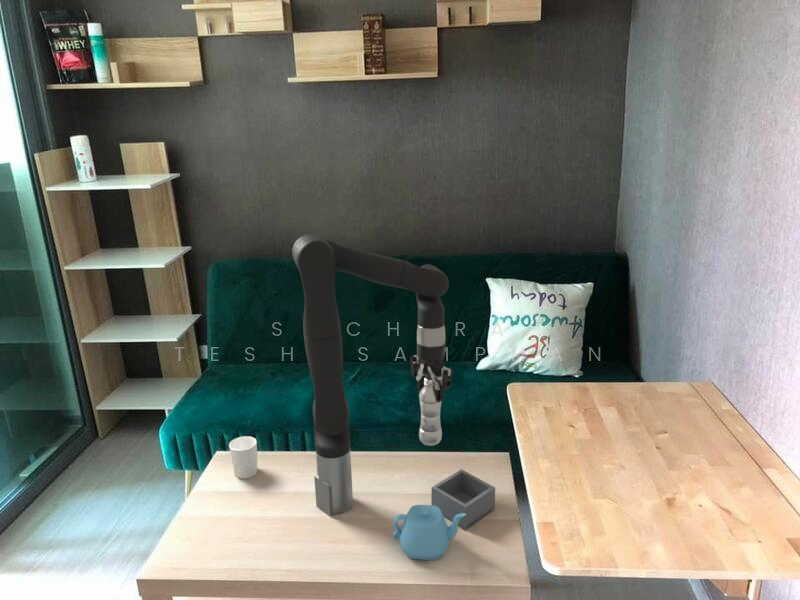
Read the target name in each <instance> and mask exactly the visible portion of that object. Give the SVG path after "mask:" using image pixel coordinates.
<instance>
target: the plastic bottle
mask: <svg viewBox="0 0 800 600" xmlns="http://www.w3.org/2000/svg"><path fill="white" fill-rule="evenodd" d="M436 378H438V376H436ZM424 385H425V386H424V387H423V388H422V389H421V391H420V394H419V393H418V394H419V395H418V399H419V405H420V425H419V431H418V437H419V438H418V439H419V441H420V442H421V443H422V444H423V445H425V446H430V447H431V446H432V447H433V446H436V445H438V444H439V443H440V442H441V441H442V436H443V431H442V426H441V407H442V402H443V401H441V402H437V401H436V389H437V388H436V385H435V383H434V382H433V381H432V378H431V377H430V376H429V375H426V376H425V377H424Z"/></svg>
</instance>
